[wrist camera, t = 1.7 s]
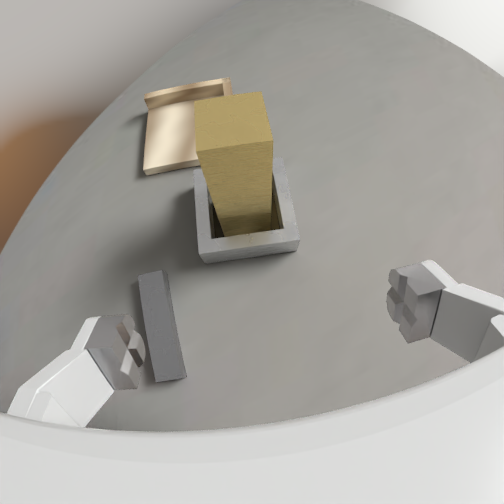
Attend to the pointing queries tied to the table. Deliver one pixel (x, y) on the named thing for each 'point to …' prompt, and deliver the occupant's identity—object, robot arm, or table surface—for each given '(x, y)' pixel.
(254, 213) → the yellow wooden block
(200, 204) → the socket collar
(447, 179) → the table surface
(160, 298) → the gray rectangular bar
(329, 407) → the table surface
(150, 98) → the rack plate
